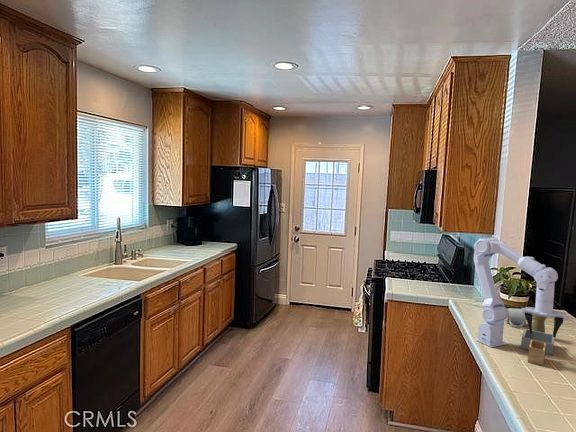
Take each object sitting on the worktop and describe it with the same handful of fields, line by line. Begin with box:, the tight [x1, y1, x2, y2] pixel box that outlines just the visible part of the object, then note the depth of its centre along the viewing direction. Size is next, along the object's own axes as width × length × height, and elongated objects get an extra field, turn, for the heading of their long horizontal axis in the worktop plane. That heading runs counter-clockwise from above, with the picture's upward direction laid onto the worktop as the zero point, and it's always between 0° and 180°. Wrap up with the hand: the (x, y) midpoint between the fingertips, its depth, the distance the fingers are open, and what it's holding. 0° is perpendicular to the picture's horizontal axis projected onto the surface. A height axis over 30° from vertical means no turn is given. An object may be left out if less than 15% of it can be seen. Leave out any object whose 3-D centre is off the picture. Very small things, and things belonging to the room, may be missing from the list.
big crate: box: [520, 328, 555, 356], centre depth 172 cm, size 13×11×4 cm
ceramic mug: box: [505, 307, 527, 329], centre depth 197 cm, size 11×8×8 cm
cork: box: [532, 315, 547, 333], centre depth 183 cm, size 6×6×11 cm
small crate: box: [527, 340, 546, 367], centre depth 158 cm, size 9×5×6 cm, turn 146°
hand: (542, 334), depth 158 cm, fingers open, 7 cm apart
